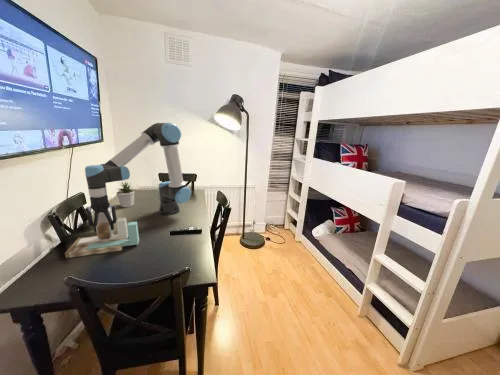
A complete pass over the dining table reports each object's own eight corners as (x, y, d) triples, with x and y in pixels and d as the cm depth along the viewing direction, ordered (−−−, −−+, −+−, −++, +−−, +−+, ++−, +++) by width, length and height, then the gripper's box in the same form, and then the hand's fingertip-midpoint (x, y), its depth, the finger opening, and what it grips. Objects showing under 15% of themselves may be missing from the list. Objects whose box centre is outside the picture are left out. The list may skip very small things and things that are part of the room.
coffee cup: (94, 235, 122) (90, 211, 118) (97, 228, 131) (93, 206, 127) (114, 232, 127) (110, 209, 123) (115, 226, 135) (111, 203, 131)
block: (112, 233, 118) (110, 222, 117) (109, 237, 114) (107, 225, 112) (101, 234, 117) (99, 223, 115) (98, 239, 112) (96, 227, 110)
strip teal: (139, 239, 117) (137, 221, 114) (138, 244, 112) (135, 224, 109) (90, 246, 109) (86, 226, 106) (86, 251, 105) (82, 230, 102)
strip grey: (128, 235, 121) (126, 217, 118) (127, 239, 117) (124, 220, 114) (80, 240, 114) (76, 221, 111) (77, 245, 110) (72, 225, 107)
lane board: (127, 235, 123) (127, 231, 122) (121, 250, 108) (120, 245, 108) (79, 241, 116) (78, 237, 115) (65, 258, 101) (64, 253, 100)
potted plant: (140, 204, 173) (137, 181, 168) (123, 209, 162) (119, 184, 157) (132, 201, 180) (129, 178, 174) (115, 206, 168) (111, 181, 163)
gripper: (120, 192, 115) (125, 230, 121) (80, 194, 110) (88, 235, 116) (116, 196, 108) (122, 236, 115) (74, 198, 103) (83, 241, 109)
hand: (105, 235), depth 115 cm, fingers closed on block, 5 cm apart
